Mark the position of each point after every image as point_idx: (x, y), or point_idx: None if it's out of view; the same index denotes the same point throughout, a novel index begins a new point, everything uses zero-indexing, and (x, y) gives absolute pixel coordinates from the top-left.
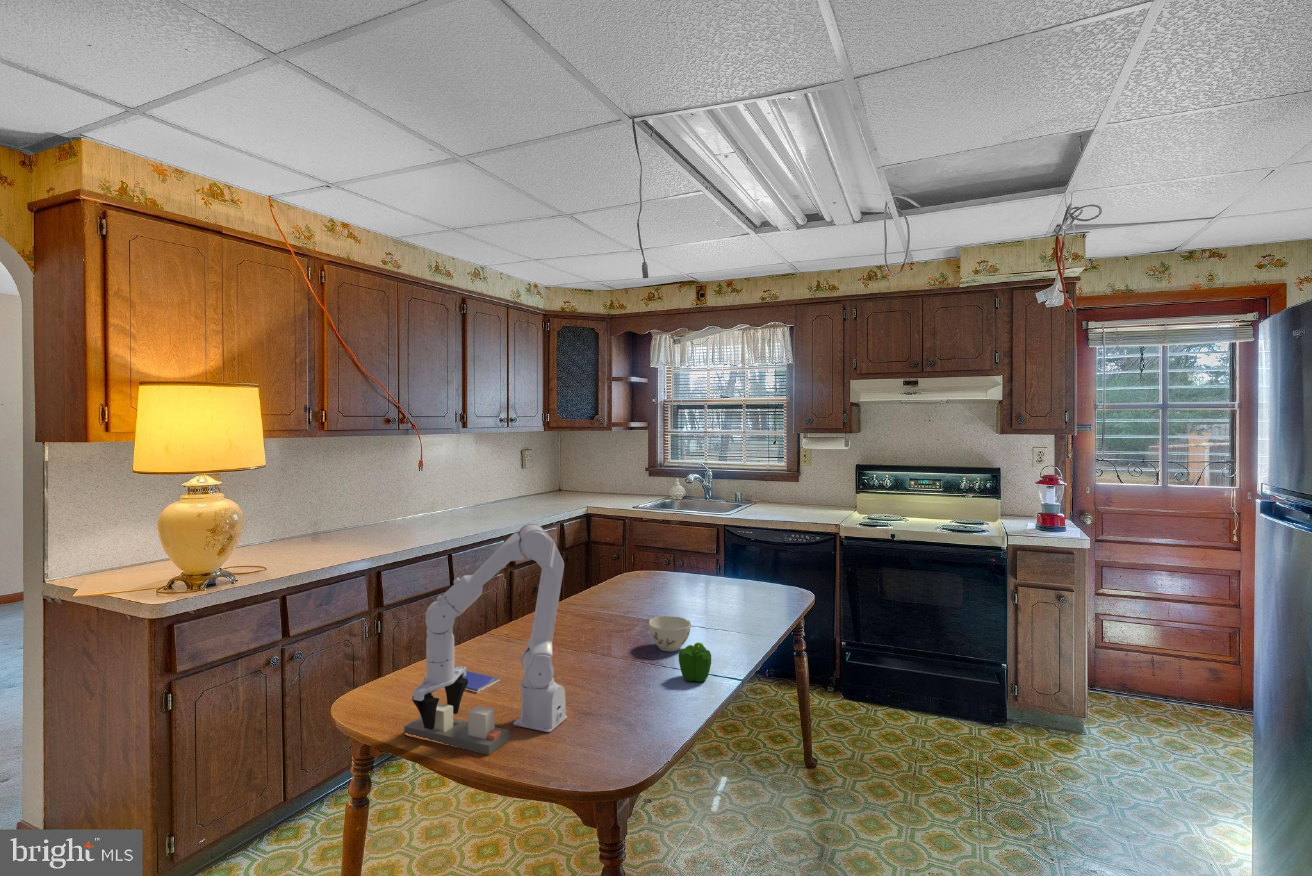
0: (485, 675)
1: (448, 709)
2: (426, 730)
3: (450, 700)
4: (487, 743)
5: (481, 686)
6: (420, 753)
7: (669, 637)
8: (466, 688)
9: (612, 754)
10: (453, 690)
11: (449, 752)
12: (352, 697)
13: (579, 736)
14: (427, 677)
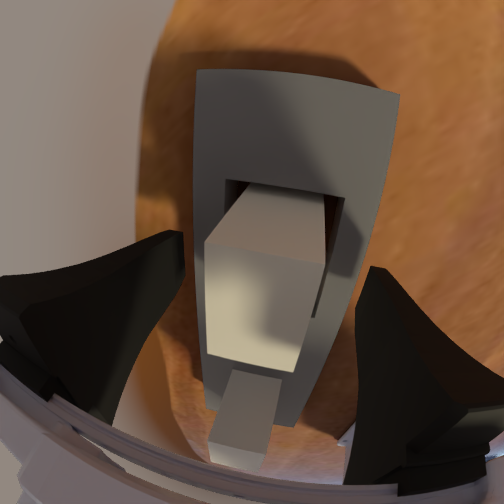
0: None
1: (252, 359)
2: (201, 214)
3: (381, 329)
4: (213, 405)
5: None
6: (135, 234)
7: None
8: None
9: (283, 472)
10: (379, 412)
11: (181, 313)
12: None
13: (329, 459)
14: (19, 500)
